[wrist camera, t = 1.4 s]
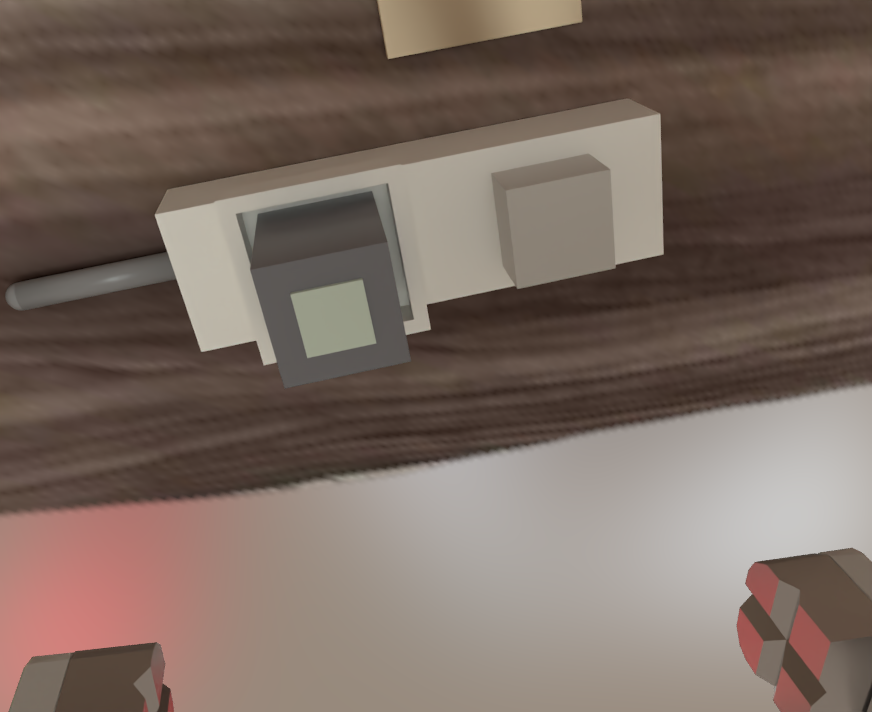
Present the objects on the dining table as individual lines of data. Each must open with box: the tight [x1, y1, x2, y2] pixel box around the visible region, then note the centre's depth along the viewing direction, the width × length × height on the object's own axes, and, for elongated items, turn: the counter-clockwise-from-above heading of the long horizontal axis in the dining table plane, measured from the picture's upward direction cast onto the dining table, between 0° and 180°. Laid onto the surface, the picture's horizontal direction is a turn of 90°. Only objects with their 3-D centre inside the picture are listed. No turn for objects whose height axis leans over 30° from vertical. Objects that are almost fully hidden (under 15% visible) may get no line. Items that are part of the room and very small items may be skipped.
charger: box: [250, 191, 411, 388], centre depth 30 cm, size 4×4×6 cm
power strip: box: [6, 98, 664, 365], centre depth 33 cm, size 28×7×6 cm, turn 99°
